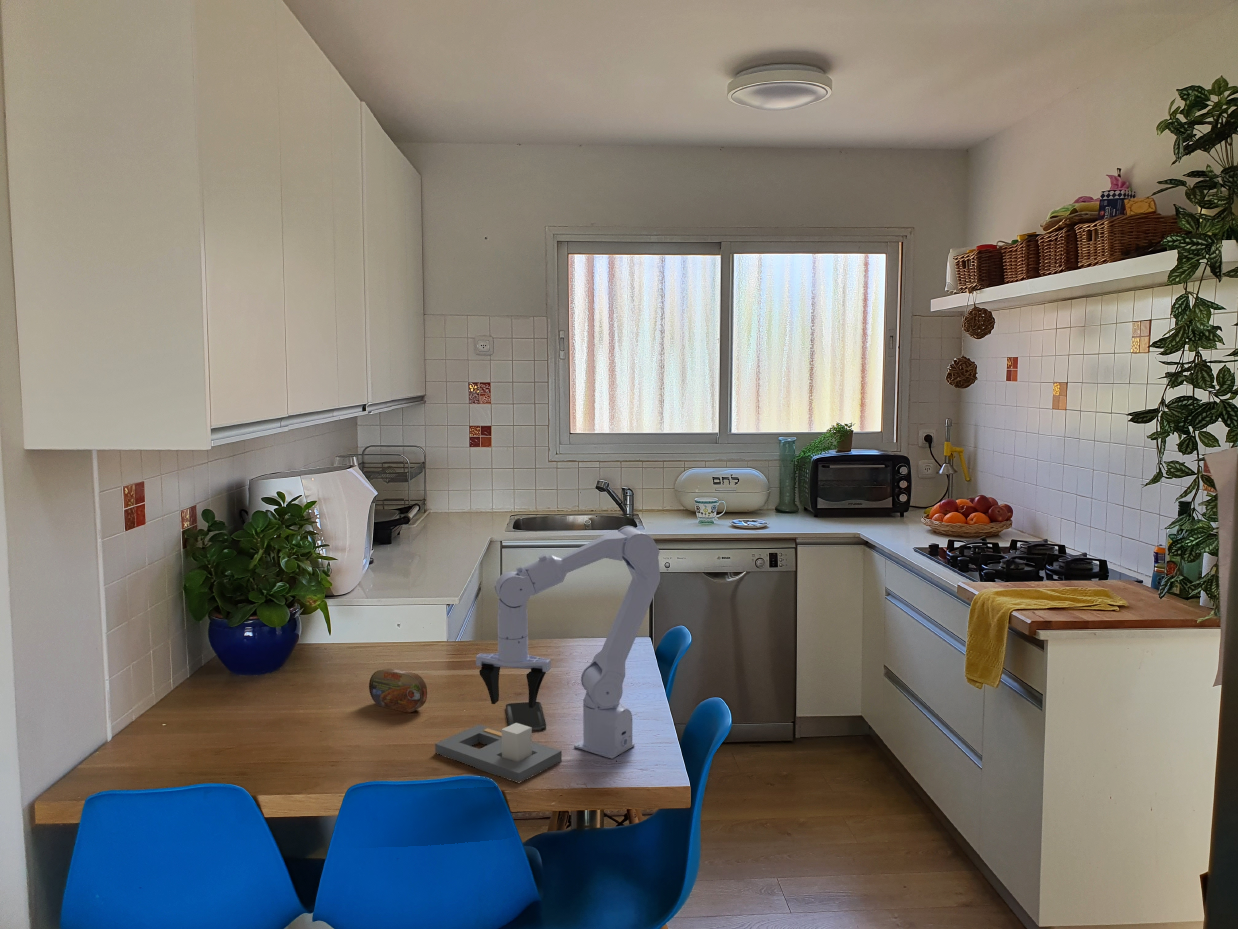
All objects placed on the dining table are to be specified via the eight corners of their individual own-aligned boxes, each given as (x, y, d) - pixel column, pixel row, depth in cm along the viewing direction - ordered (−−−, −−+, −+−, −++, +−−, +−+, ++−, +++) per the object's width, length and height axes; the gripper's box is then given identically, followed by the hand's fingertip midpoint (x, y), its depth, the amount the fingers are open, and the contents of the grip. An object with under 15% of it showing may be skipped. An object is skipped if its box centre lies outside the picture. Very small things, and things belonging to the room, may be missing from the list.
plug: (531, 763, 169) (531, 727, 168) (517, 770, 166) (517, 734, 165) (516, 757, 171) (516, 722, 170) (502, 765, 168) (501, 729, 167)
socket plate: (561, 760, 170) (561, 749, 169) (519, 783, 160) (518, 772, 160) (479, 733, 182) (479, 723, 182) (435, 753, 173) (435, 742, 173)
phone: (509, 729, 183) (505, 703, 198) (509, 735, 183) (505, 708, 198) (547, 727, 184) (540, 701, 199) (547, 732, 184) (540, 706, 199)
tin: (368, 704, 199) (367, 667, 198) (378, 699, 202) (377, 663, 201) (420, 716, 192) (419, 678, 191) (430, 711, 195) (429, 674, 194)
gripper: (555, 632, 172) (556, 700, 173) (485, 627, 175) (486, 693, 176) (543, 642, 165) (544, 713, 166) (471, 637, 168) (472, 706, 170)
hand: (513, 704), depth 171 cm, fingers open, 7 cm apart
